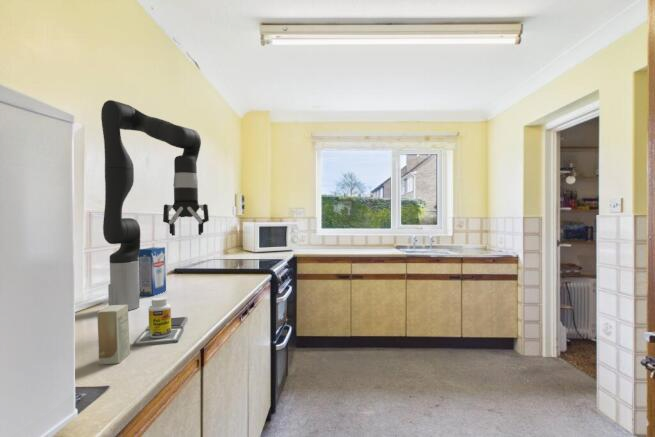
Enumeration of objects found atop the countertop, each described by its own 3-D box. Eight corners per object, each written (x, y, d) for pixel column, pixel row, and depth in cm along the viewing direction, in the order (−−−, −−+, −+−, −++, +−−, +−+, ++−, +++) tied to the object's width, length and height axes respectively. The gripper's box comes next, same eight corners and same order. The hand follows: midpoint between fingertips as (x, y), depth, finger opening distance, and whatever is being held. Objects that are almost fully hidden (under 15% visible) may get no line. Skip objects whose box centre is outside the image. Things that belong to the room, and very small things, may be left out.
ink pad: (145, 332, 107) (145, 328, 107) (154, 322, 116) (153, 318, 116) (182, 329, 109) (182, 324, 109) (187, 320, 119) (187, 316, 119)
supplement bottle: (150, 340, 98) (149, 301, 98) (147, 335, 102) (146, 298, 102) (173, 336, 101) (172, 298, 101) (169, 331, 105) (168, 295, 105)
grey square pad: (132, 346, 95) (132, 343, 95) (142, 334, 105) (142, 331, 105) (177, 342, 98) (177, 339, 98) (183, 330, 108) (183, 328, 107)
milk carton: (153, 291, 167) (152, 247, 167) (166, 291, 166) (165, 247, 166) (139, 296, 157) (138, 249, 157) (152, 296, 156) (151, 249, 156)
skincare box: (111, 354, 90) (110, 304, 90) (130, 353, 90) (129, 303, 90) (97, 365, 83) (96, 311, 83) (117, 364, 84) (116, 310, 84)
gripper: (209, 187, 130) (209, 234, 130) (165, 187, 127) (166, 235, 127) (206, 186, 123) (207, 235, 123) (160, 186, 120) (161, 236, 120)
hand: (186, 235), depth 125 cm, fingers open, 8 cm apart
